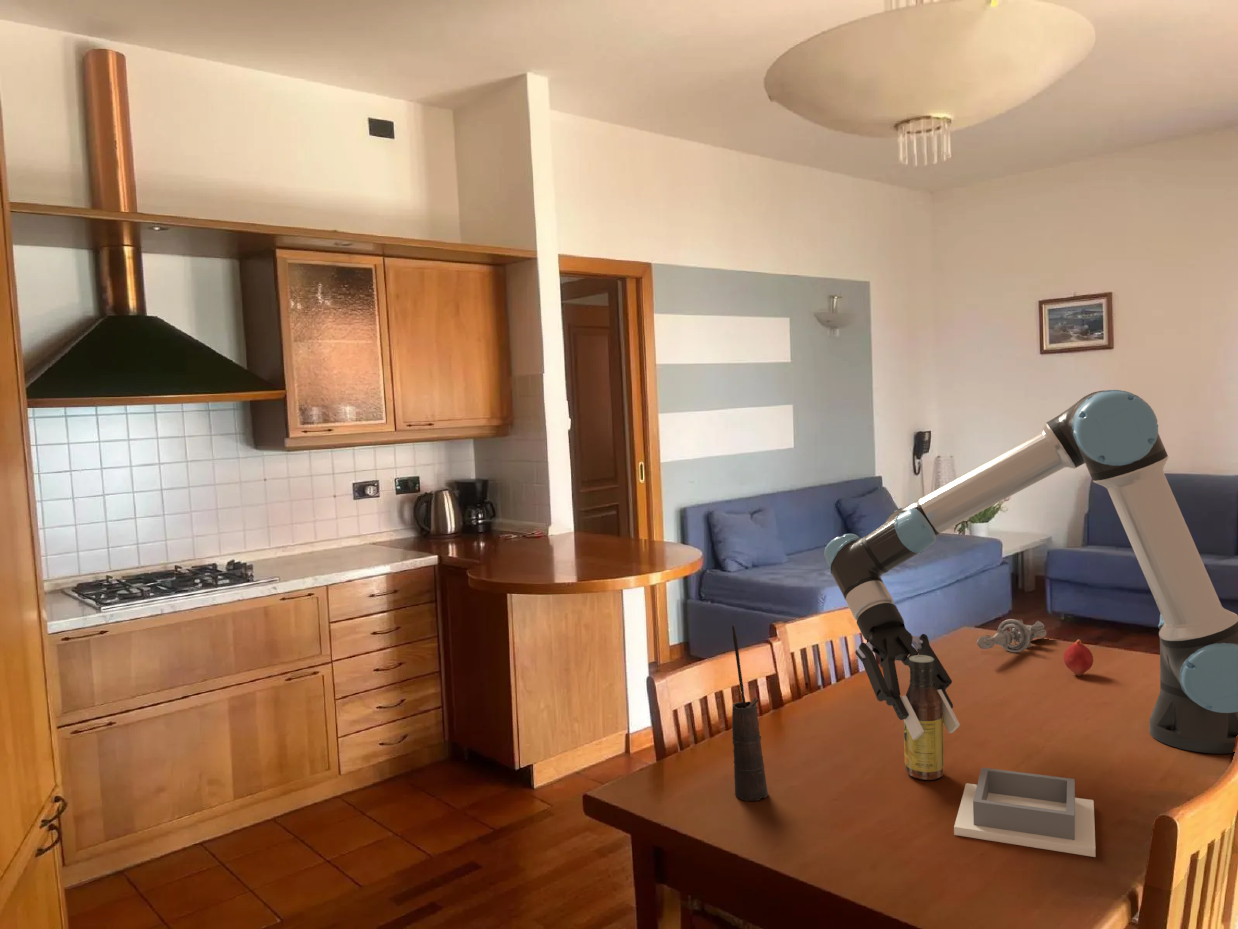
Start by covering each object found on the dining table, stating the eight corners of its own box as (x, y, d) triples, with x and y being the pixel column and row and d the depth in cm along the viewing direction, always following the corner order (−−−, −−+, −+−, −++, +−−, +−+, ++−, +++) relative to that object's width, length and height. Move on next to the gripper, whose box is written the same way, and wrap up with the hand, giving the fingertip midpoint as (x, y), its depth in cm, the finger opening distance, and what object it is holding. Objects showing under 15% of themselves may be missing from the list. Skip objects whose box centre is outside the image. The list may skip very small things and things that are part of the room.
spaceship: (956, 631, 212) (988, 622, 207) (1022, 617, 236) (1052, 609, 231) (968, 665, 210) (1000, 657, 205) (1034, 648, 234) (1064, 640, 228)
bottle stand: (1093, 808, 138) (1093, 777, 138) (1095, 857, 124) (1095, 823, 124) (966, 790, 146) (965, 761, 146) (954, 835, 132) (953, 803, 132)
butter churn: (765, 776, 156) (758, 613, 154) (795, 798, 147) (789, 624, 145) (716, 786, 152) (709, 620, 150) (744, 809, 143) (737, 632, 142)
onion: (1057, 673, 203) (1057, 638, 202) (1078, 670, 204) (1078, 634, 204) (1078, 681, 197) (1077, 644, 197) (1099, 677, 199) (1099, 640, 198)
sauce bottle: (913, 764, 158) (911, 650, 156) (949, 772, 154) (948, 655, 152) (898, 777, 152) (895, 659, 151) (935, 786, 149) (933, 664, 147)
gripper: (912, 618, 169) (974, 734, 155) (820, 630, 163) (876, 752, 149) (929, 594, 164) (996, 712, 149) (835, 607, 158) (895, 731, 143)
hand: (936, 732), depth 149 cm, fingers closed on sauce bottle, 6 cm apart
